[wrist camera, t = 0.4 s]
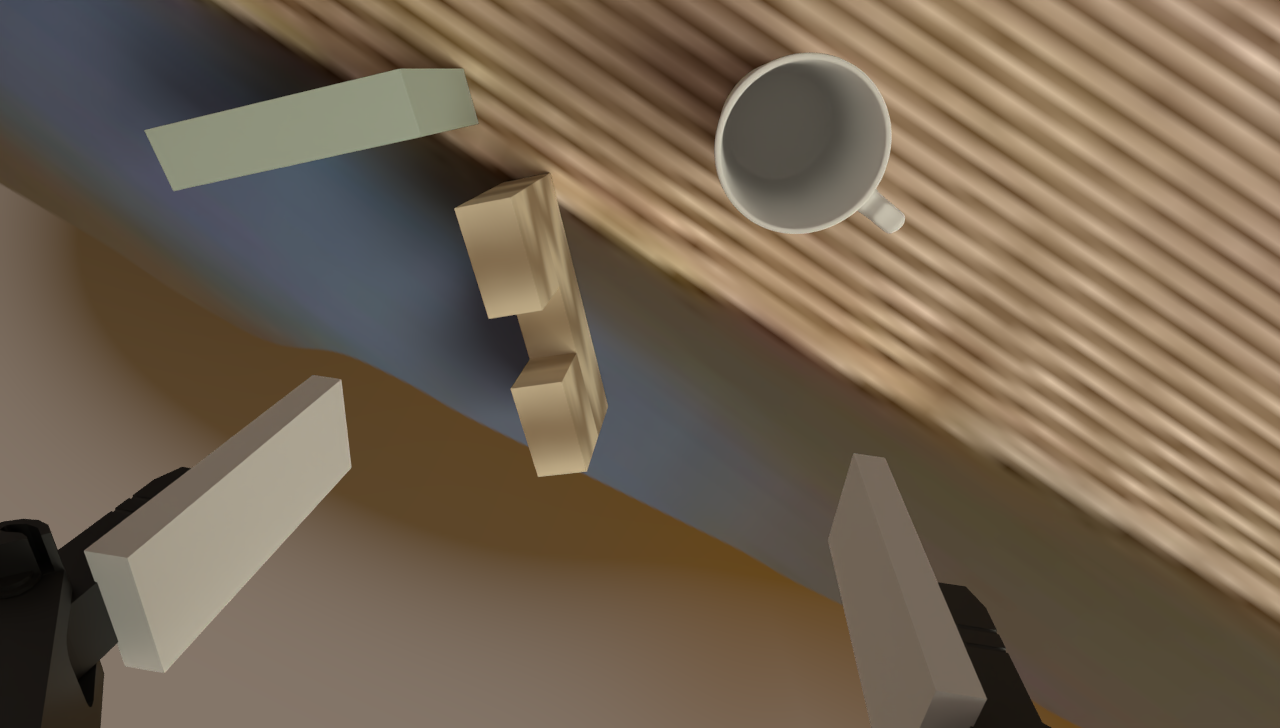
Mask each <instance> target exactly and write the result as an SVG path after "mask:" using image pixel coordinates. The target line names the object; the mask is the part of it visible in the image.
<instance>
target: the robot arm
mask: <svg viewBox="0 0 1280 728" xmlns="http://www.w3.org/2000/svg"><path fill="white" fill-rule="evenodd" d="M350 469H351V460H350V452H349V442H348V434H347V425H346V416H345V408H344V399H343V390H342V382H341V379H335V378H328V377H321V376H314V375H313V376H311V377H310V378H309V379H307V380H306V381H305V382H303V383H302V384H301V385H299V386H298V387H297V388H296V389H294V390H293V391H292V392H290V393H289V394H288V395H286V396H285V397H284V398H282V399H281V400H280V401H278V402H277V403H276V404H275V405H273V406H272V407H271V408H269V409H268V410H267V411H265V412H264V413H263V414H262V415H260V416H259V417H258V418H256V419H255V420H254V421H252V422H251V423H250V424H249V425H248V426H246V427H245V428H243V429H242V430H241V431H239V432H238V433H237V434H236V435H234V436H233V437H232V438H230V439H229V440H228V441H226V442H225V443H224V444H222V445H221V446H220V447H218V448H217V449H216V450H215V451H213V452H212V453H211V454H209V455H208V456H207V457H205V458H204V459H203V460H202V461H200V462H199V463H198V464H196V465H195V466H194V467H192V468H185V467H181V468H179V469H176V470H174V471H172V472H170V473H167V474H166V475H163V476H161V477H159V478H157V479H154V480H153V481H151V482H150V483H149V484H147V485H146V486H145V487H143V488H142V489H141V490H139V491H138V492H137V493H135V494H134V495H133V497H132V499H130V498H129V499H127V500H126V501H124V502H123V503H122V504H120V505H119V506H118V507H116V508H115V511H114V512H112V511H111V512H110V513H108V514H107V515H105V516H104V517H103V518H101V519H100V520H98V521H97V522H96V523H94V524H93V525H92V526H90V527H89V528H88V529H86V530H85V531H84V532H82V533H81V534H79V535H78V536H77V537H75V538H74V539H73V540H71V541H70V542H69V543H67V544H66V545H64V546H63V547H62V548H60V549H59V550H58V549H57V547H56V544H55V542H54V539H53V536H52V534H51V531H50V528H49V526H48V525H47V524H45V523H43V522H41V521H39V520H31V519H19V520H13V521H4V522H1V523H0V728H100V725H101V711H102V695H103V681H104V672H103V668H102V665H101V662H100V659H101V658H102V657H103V656H104V655H105V654H106V653H107V652H108V651H109V650H110V649H111V648H112V647H114V646H115V644H117V645H118V648H119V651H120V653H121V656H122V659H123V662H124V665H125V666H127V667H133V668H139V669H145V670H150V671H156V672H162V673H165V672H166V671H167V670H168V669H169V667H170V666H171V665H172V664H173V663H174V662H175V661H176V660H177V659H178V658H179V656H180V655H181V654H182V653H183V652H184V651H185V650H186V649H187V647H189V645H190V644H191V643H192V642H193V641H194V640H195V639H196V638H197V637H198V636H199V635H200V633H201V632H202V631H203V630H204V629H205V628H206V627H207V626H208V625H209V623H210V622H211V621H212V620H213V619H214V618H215V617H216V616H217V615H218V614H219V613H220V611H221V610H222V609H223V608H224V607H225V606H226V605H227V604H228V603H229V602H230V600H231V599H232V598H233V597H234V596H235V595H236V594H237V593H238V592H239V590H240V589H241V588H242V587H243V586H244V585H245V584H246V583H247V582H248V580H250V578H251V577H252V576H253V575H254V574H255V573H256V572H257V571H258V570H259V569H260V567H261V566H262V565H263V564H264V563H265V562H266V561H267V560H268V559H269V557H270V556H271V555H272V554H273V553H274V552H275V551H276V550H277V549H278V548H279V547H280V545H281V544H282V543H283V542H284V541H285V540H286V539H287V538H288V537H289V536H290V534H291V533H292V532H293V531H294V530H295V529H296V528H297V527H298V525H300V523H301V522H302V521H303V520H304V519H305V518H306V517H307V516H308V515H309V514H310V512H311V511H312V510H313V509H314V508H315V507H316V506H317V505H318V504H319V502H320V501H321V500H322V499H323V498H324V497H325V496H326V495H327V494H328V493H329V492H330V491H331V489H332V488H333V487H334V486H335V485H336V484H337V483H338V482H339V481H340V479H341V478H342V477H343V476H344V475H345V474H346V473H347V472H348V471H349V470H350ZM828 542H829V546H830V551H831V555H832V559H833V564H834V568H835V572H836V577H837V581H838V585H839V590H840V594H841V598H842V603H843V607H844V611H845V616H846V620H847V624H848V628H849V633H850V637H851V642H852V646H853V650H854V655H855V659H856V663H857V668H858V672H859V676H860V681H861V685H862V689H863V693H864V698H865V702H866V707H867V710H868V715H869V720H870V723H871V728H1051V727H1049V726H1047V725H1045V724H1044V723H1042V722H1041V719H1040V717H1039V715H1038V713H1037V711H1036V709H1035V707H1034V705H1033V703H1032V701H1031V699H1030V697H1029V695H1028V693H1027V691H1026V689H1025V687H1024V684H1023V682H1022V680H1021V678H1020V676H1019V674H1018V672H1017V670H1016V668H1015V666H1014V664H1013V662H1012V660H1011V658H1010V656H1009V654H1008V653H1006V651H1005V649H1006V648H1005V646H1004V644H1003V642H1002V640H1001V638H1000V636H999V634H997V633H996V631H997V630H996V628H995V626H994V624H993V622H992V620H991V617H990V615H989V613H988V611H987V609H986V608H985V606H984V605H983V604H982V603H981V602H980V601H979V600H978V599H977V598H976V597H975V596H974V595H973V594H972V593H971V592H970V591H969V590H968V589H967V587H965V586H958V585H952V584H945V583H939V582H937V580H936V577H935V575H934V573H933V570H932V568H931V566H930V563H929V561H928V559H927V556H926V554H925V551H924V549H923V547H922V544H921V542H920V540H919V537H918V535H917V533H916V530H915V528H914V525H913V523H912V521H911V518H910V516H909V514H908V511H907V509H906V507H905V504H904V502H903V500H902V497H901V495H900V492H899V490H898V488H897V485H896V483H895V481H894V478H893V476H892V474H891V471H890V469H889V466H888V464H887V462H886V459H885V458H882V457H875V456H868V455H861V454H854V453H853V457H852V460H851V464H850V467H849V470H848V474H847V477H846V481H845V484H844V487H843V491H842V494H841V498H840V501H839V505H838V508H837V511H836V515H835V518H834V522H833V525H832V528H831V532H830V535H829V539H828Z"/></svg>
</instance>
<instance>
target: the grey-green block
mask: <svg viewBox="0 0 1280 728" xmlns="http://www.w3.org/2000/svg"><path fill="white" fill-rule="evenodd" d="M475 124H479V123H478V120H477V116H476V112H475V109H474V105H473V102H472V98H471V95H470V91H469V88H468V84H467V81H466V77H465V74H464V70H463V69H396V70H392V71H388V72H384V73H380V74H376V75H371V76H367V77H363V78H359V79H355V80H351V81H346V82H342V83H338V84H334V85H330V86H326V87H322V88H317V89H313V90H309V91H305V92H301V93H297V94H293V95H288V96H284V97H280V98H276V99H272V100H268V101H264V102H259V103H255V104H251V105H247V106H243V107H239V108H235V109H230V110H226V111H222V112H218V113H214V114H210V115H206V116H201V117H197V118H193V119H189V120H185V121H181V122H176V123H172V124H168V125H164V126H160V127H156V128H152V129H147V130H144V131H145V133H146V135H147V137H148V139H149V141H150V143H151V145H152V147H153V149H154V151H155V154H156V156H157V158H158V160H159V162H160V164H161V166H162V168H163V170H164V172H165V174H166V176H167V178H168V181H169V183H170V185H171V187H172V189H173V191H176V190H180V189H185V188H190V187H194V186H199V185H203V184H208V183H213V182H217V181H222V180H226V179H231V178H235V177H240V176H245V175H249V174H254V173H258V172H263V171H268V170H272V169H277V168H281V167H286V166H290V165H295V164H300V163H304V162H309V161H313V160H318V159H322V158H327V157H332V156H336V155H341V154H345V153H350V152H355V151H359V150H364V149H368V148H373V147H377V146H382V145H387V144H391V143H396V142H400V141H405V140H410V139H414V138H419V137H423V136H428V135H432V134H436V133H441V132H445V131H449V130H454V129H458V128H462V127H467V126H471V125H475Z"/></svg>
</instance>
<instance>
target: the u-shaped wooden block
mask: <svg viewBox="0 0 1280 728" xmlns="http://www.w3.org/2000/svg"><path fill="white" fill-rule="evenodd" d="M454 209H455V213H456V216H457V219H458V222H459V225H460V229H461V232H462V235H463V238H464V241H465V245H466V248H467V251H468V254H469V257H470V260H471V264H472V267H473V270H474V273H475V276H476V280H477V283H478V286H479V289H480V292H481V296H482V299H483V302H484V305H485V308H486V312H487V315H488V318H489V319H491V318H497V317H504V316H510V315H516V314H517V317H518V321H519V324H520V328H521V331H522V334H523V338H524V341H525V345H526V348H527V352H528V355H529V358H530V360H529V361H528V363H527V364H526V366H525V367H524V369H523V370H522V372H521V374H520V375H519V377H518V378H517V380H516V381H515V383H514V384H513V386H512V387H511V392H512V395H513V398H514V401H515V404H516V408H517V411H518V414H519V417H520V420H521V423H522V427H523V430H524V433H525V436H526V439H527V443H528V446H529V449H530V452H531V455H532V459H533V461H534V465H535V468H536V471H537V475H538V477H540V476H550V475H559V474H568V473H577V472H586V471H587V469H588V466H589V463H590V460H591V457H592V454H593V451H594V448H595V445H596V441H597V438H598V435H599V432H600V429H601V426H602V423H603V420H604V417H605V414H606V411H607V408H608V404H607V400H606V396H605V392H604V388H603V384H602V380H601V376H600V372H599V368H598V364H597V360H596V356H595V352H594V348H593V344H592V340H591V336H590V332H589V327H588V323H587V319H586V315H585V311H584V307H583V303H582V299H581V295H580V291H579V287H578V283H577V279H576V275H575V271H574V267H573V263H572V259H571V255H570V251H569V247H568V243H567V239H566V235H565V231H564V227H563V223H562V219H561V215H560V211H559V207H558V203H557V199H556V195H555V191H554V187H553V183H552V178H551V174H550V173H548V174H543V175H538V176H532V177H527V178H522V179H517V180H512V181H507V182H503V183H501V184H499V185H497V186H495V187H494V188H492V189H490V190H488V191H486V192H484V193H482V194H480V195H478V196H477V197H475V198H473V199H471V200H469V201H467V202H465V203H463V204H461V205H460V206H458V207H456V208H454Z"/></svg>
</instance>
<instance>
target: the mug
mask: <svg viewBox="0 0 1280 728" xmlns="http://www.w3.org/2000/svg"><path fill="white" fill-rule="evenodd" d="M890 149H891V123H890V117H889V113H888V110H887V107H886V104H885V101H884V99H883V97H882V95H881V93H880V92H879V90H878V88H877V87H876V86H875V84H874V83H873V82H872V80H871V79H870V78H869V77H868V76H867V75H866V74H865V73H864V72H863V71H861V70H860V69H859V68H857V67H856V66H855V65H853V64H851V63H849V62H848V61H846V60H843V59H841V58H838V57H835V56H832V55H828V54H822V53H798V54H792V55H788V56H784V57H781V58H778V59H776V60H773V61H771V62H768V63H766V64H764V65H762V66H760V67H758V68H756V69H754V70H752V71H751V72H749V73H748V74H747V75H745V76H744V77H743V78H742V79H741V80H740V81H739V82H738V83H737V84H736V86H735V87H734V88H733V90H732V91H731V93H730V94H729V96H728V97H727V99H726V101H725V103H724V106H723V109H722V112H721V116H720V119H719V122H718V126H717V130H716V136H715V146H714V155H715V165H716V170H717V174H718V178H719V180H720V183H721V186H722V188H723V190H724V192H725V194H726V195H727V197H728V198H729V200H730V201H731V203H732V204H733V205H734V206H735V207H736V209H737V210H738V211H739V212H740V213H742V214H743V215H744V216H745V217H746V218H748V219H749V220H751V221H752V222H754V223H756V224H757V225H759V226H761V227H764V228H766V229H769V230H772V231H776V232H781V233H789V234H803V233H811V232H816V231H820V230H823V229H826V228H829V227H831V226H833V225H836V224H838V223H839V222H841V221H843V220H845V219H846V218H848V217H849V216H851V215H852V214H853V213H855V212H856V211H858V212H860V213H861V214H863V215H864V216H866V217H867V218H868V219H870V220H871V221H872V222H873V223H875V224H876V225H877V226H878V227H879V228H881V229H882V230H883V231H885V232H886V233H893V232H895V231H897V230H899V229H900V228H901V227H902V226H903V224H904V220H905V215H904V214H903V213H902V212H901V211H900V210H899V209H898V208H896V207H895V206H894V205H893V204H892V203H890V202H889V201H888V200H887V199H886V198H885V197H884V196H882V195H881V194H880V193H879V192H878V191H877V190H876V188H877V186H878V184H879V183H880V181H881V179H882V176H883V174H884V172H885V169H886V166H887V163H888V159H889V155H890Z"/></svg>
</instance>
